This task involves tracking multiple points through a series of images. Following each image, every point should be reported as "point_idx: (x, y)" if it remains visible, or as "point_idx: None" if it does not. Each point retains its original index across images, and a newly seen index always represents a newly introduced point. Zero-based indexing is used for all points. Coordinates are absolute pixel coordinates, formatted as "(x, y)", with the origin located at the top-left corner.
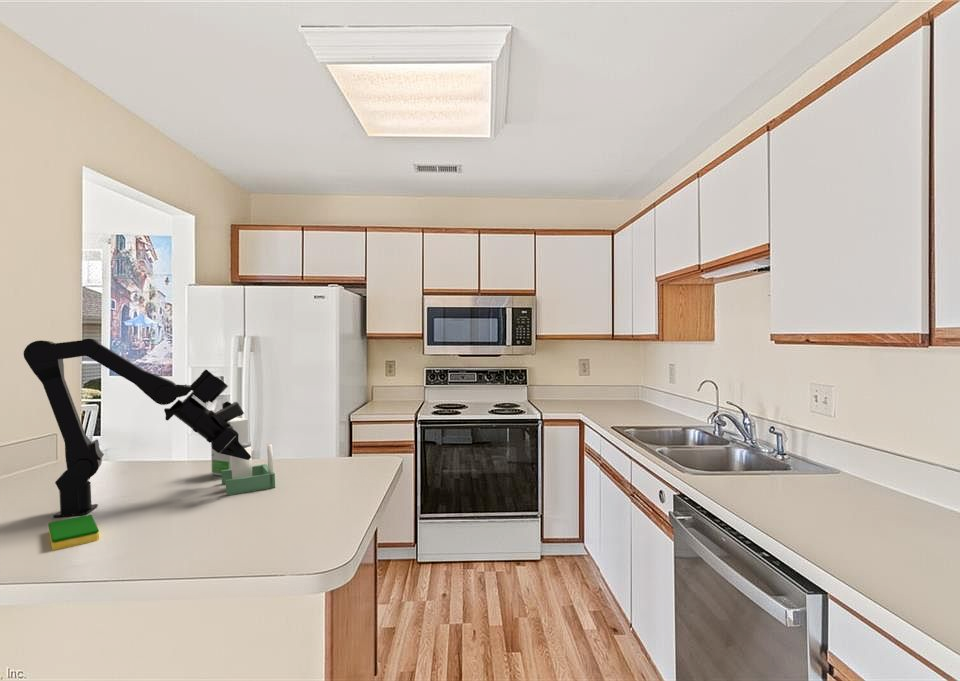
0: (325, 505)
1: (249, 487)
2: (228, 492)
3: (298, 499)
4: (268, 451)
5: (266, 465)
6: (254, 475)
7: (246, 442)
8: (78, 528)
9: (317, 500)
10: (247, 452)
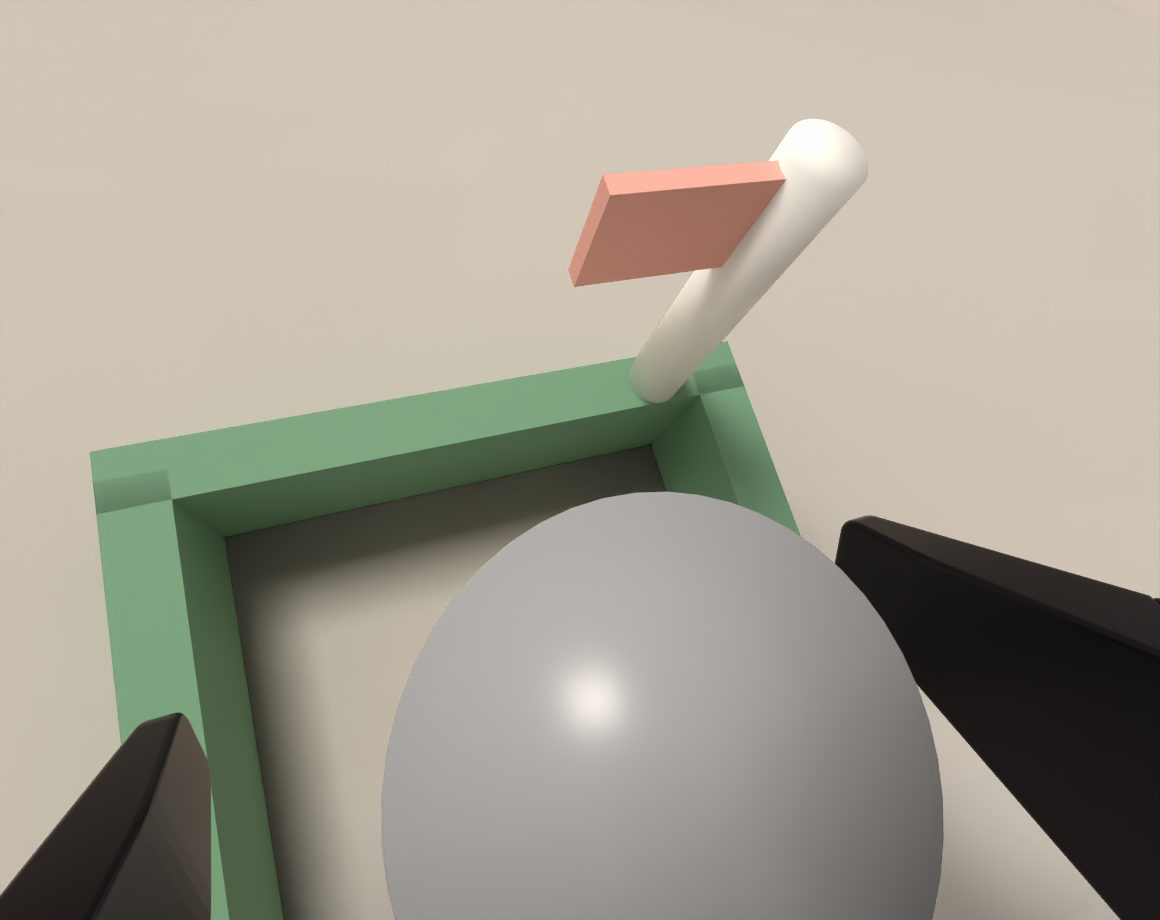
0: (1120, 157)
1: None
2: None
3: (1008, 263)
4: (800, 248)
5: (207, 441)
6: (225, 619)
7: (540, 629)
8: None
9: (1038, 177)
10: (981, 549)
